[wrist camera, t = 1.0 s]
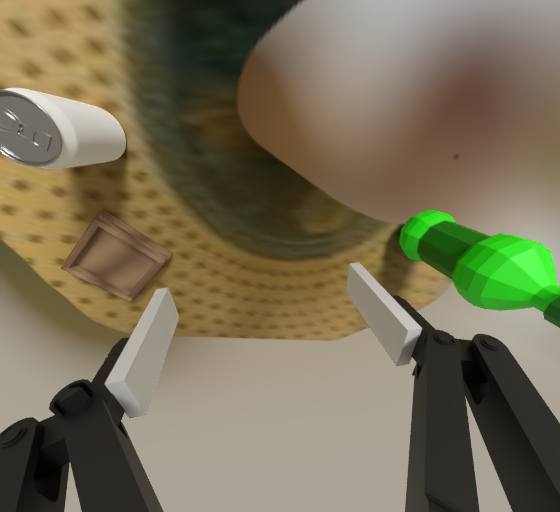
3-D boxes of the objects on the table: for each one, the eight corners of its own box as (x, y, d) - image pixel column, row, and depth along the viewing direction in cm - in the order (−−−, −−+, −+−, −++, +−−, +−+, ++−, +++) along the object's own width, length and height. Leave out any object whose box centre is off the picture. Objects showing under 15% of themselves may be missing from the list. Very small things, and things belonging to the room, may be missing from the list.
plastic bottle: (385, 256, 46) (519, 360, 24) (394, 206, 41) (572, 281, 19) (429, 249, 47) (594, 343, 25) (442, 200, 42) (664, 264, 20)
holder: (67, 261, 36) (55, 269, 33) (103, 209, 33) (93, 214, 31) (136, 295, 40) (130, 304, 38) (172, 253, 38) (168, 260, 36)
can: (78, 92, 27) (-26, 60, 16) (135, 128, 29) (76, 120, 19) (64, 141, 29) (-38, 141, 18) (118, 171, 31) (56, 186, 21)
